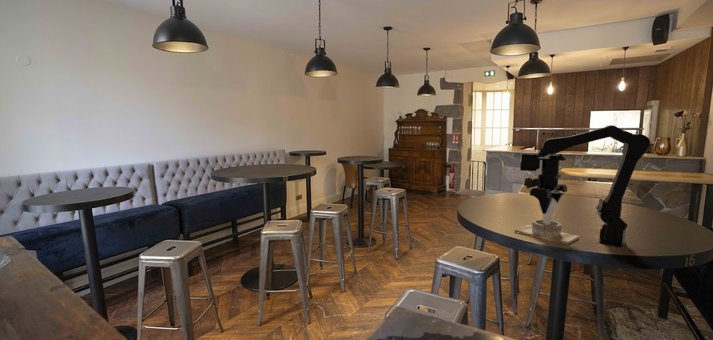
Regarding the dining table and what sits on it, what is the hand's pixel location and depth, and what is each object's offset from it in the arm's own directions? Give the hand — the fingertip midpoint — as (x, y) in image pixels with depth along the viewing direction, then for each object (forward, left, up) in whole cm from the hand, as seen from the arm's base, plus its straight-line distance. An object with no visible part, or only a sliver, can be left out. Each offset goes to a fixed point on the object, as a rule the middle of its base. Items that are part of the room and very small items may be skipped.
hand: (547, 212), depth 130 cm
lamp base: (0, 0, -9) cm, 9 cm away
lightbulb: (0, 0, -5) cm, 5 cm away
